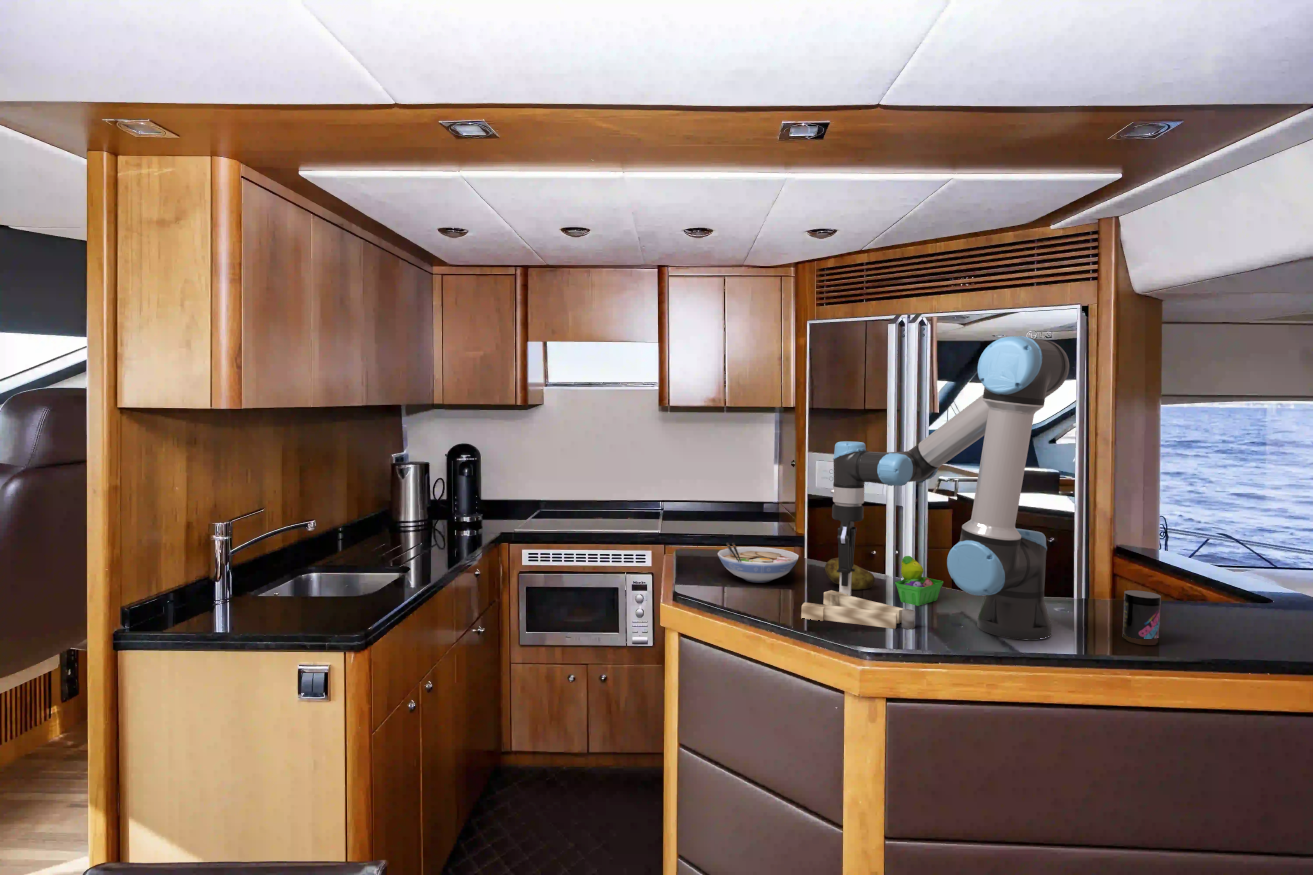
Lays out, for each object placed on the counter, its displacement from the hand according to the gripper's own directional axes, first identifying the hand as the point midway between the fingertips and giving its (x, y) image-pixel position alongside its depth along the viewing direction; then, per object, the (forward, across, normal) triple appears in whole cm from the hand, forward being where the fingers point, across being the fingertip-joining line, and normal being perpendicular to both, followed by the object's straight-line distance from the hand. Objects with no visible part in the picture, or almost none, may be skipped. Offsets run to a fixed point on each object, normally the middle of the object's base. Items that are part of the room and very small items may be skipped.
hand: (845, 597), depth 195 cm
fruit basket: (+2, -13, +16) cm, 21 cm away
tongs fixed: (+2, +14, +5) cm, 15 cm away
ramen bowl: (+2, -16, -27) cm, 32 cm away
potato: (+2, -19, -2) cm, 19 cm away
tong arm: (+1, +6, +5) cm, 8 cm away
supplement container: (+2, +2, +63) cm, 63 cm away
